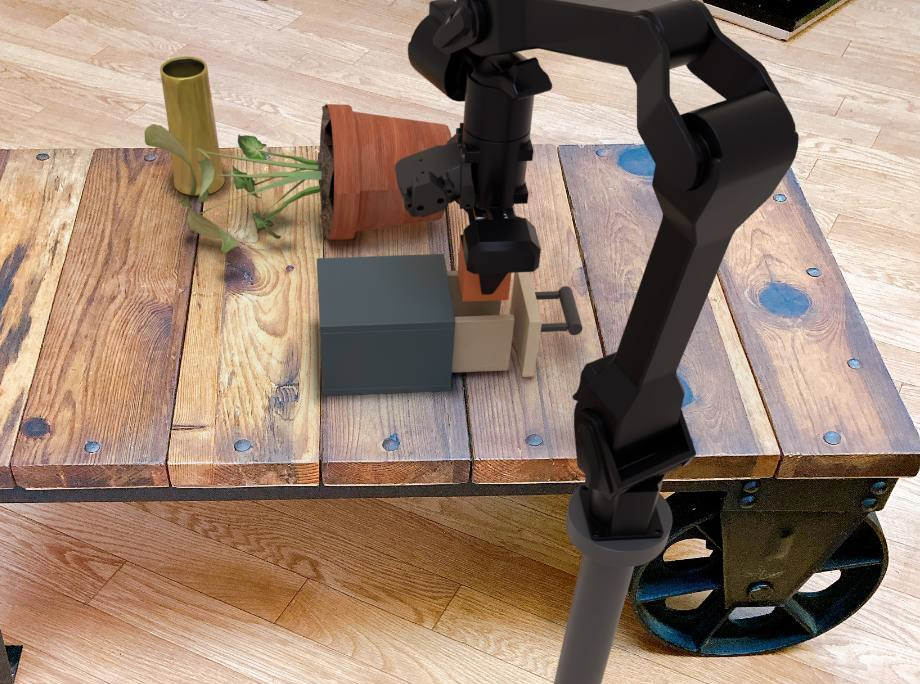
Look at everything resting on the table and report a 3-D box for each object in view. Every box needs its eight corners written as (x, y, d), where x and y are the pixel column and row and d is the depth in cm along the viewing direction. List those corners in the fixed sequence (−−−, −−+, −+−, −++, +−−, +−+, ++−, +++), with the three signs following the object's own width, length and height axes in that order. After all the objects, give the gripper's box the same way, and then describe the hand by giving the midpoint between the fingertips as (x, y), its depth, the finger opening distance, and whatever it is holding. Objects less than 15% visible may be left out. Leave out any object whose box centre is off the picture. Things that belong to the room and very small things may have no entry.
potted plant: (424, 196, 134) (129, 196, 129) (441, 78, 122) (117, 73, 117) (445, 280, 125) (128, 284, 119) (466, 161, 113) (115, 159, 107)
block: (508, 300, 105) (512, 261, 101) (462, 302, 105) (465, 263, 101) (502, 272, 108) (506, 233, 104) (457, 274, 107) (459, 235, 104)
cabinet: (440, 322, 116) (444, 253, 109) (450, 390, 109) (455, 321, 102) (320, 327, 115) (316, 258, 109) (323, 396, 108) (319, 326, 102)
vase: (165, 178, 134) (146, 62, 123) (211, 163, 136) (196, 49, 125) (187, 202, 130) (169, 86, 119) (233, 187, 132) (221, 71, 121)
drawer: (563, 314, 115) (572, 260, 110) (579, 374, 109) (589, 319, 104) (410, 320, 115) (412, 265, 109) (418, 381, 109) (420, 326, 103)
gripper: (394, 74, 99) (392, 225, 111) (411, 189, 87) (407, 344, 99) (517, 70, 100) (502, 221, 112) (551, 184, 88) (530, 339, 99)
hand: (483, 278), depth 105 cm, fingers closed on block, 4 cm apart
